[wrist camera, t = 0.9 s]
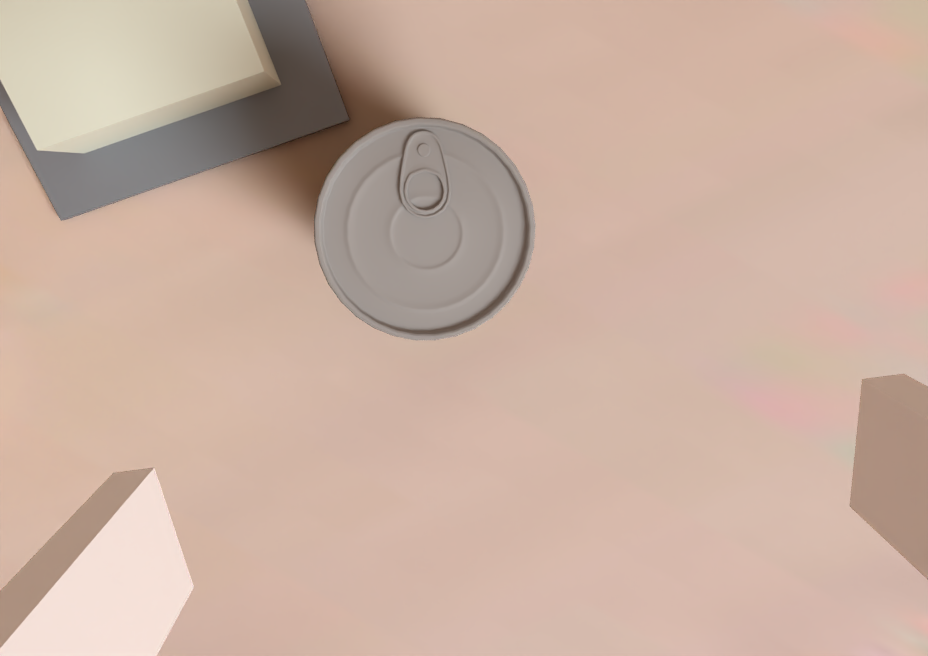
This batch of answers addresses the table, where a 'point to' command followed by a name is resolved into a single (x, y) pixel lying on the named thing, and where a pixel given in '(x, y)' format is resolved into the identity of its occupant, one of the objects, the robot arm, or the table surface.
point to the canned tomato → (424, 228)
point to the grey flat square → (201, 124)
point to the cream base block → (125, 65)
